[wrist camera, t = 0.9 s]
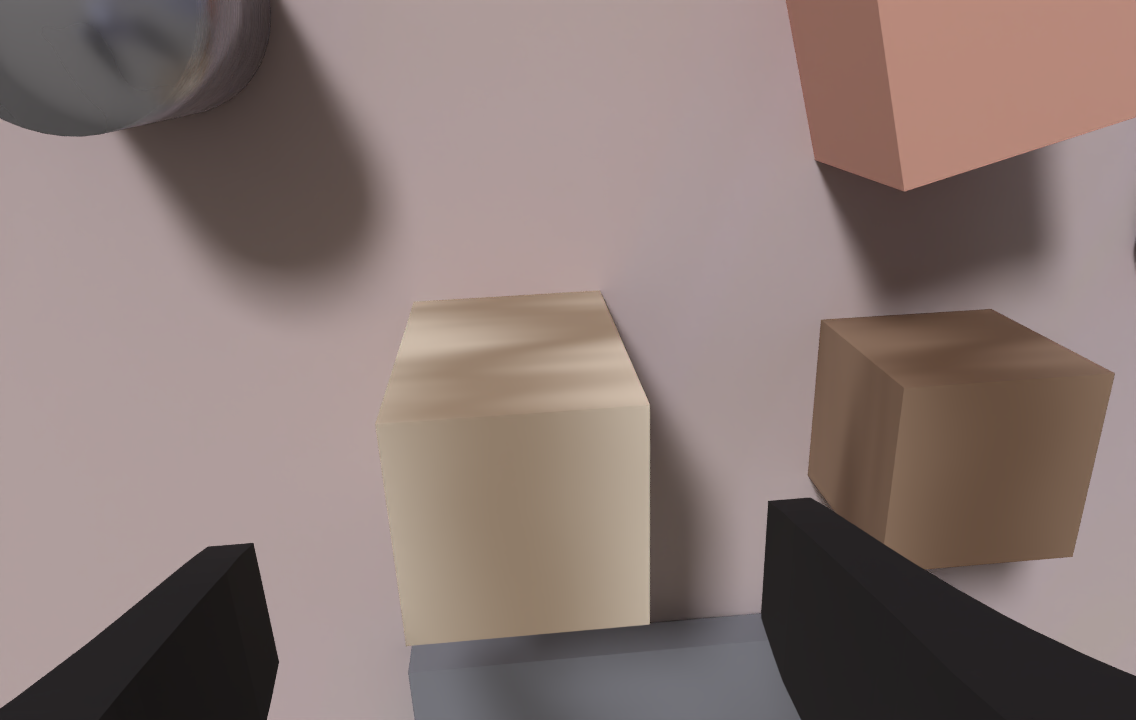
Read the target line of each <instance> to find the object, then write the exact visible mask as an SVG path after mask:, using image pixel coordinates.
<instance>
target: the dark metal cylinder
mask: <svg viewBox="0 0 1136 720" xmlns="http://www.w3.org/2000/svg"><path fill="white" fill-rule="evenodd" d="M270 24H271V10H270V0H0V118H1V119H3V120H5V121H7V122H10V123H12V124H15V125H17V126H20V127H22V128H26V129H29V130H33V131H37V132H40V133H45V134H52V135H59V136H90V135H99V134H104V133H108V132H113V131H117V130H122V129H127V128H131V127H136V126H140V125H145V124H149V123H154V122H159V121H163V120H168V119H172V118H177V117H181V116H186V115H191V114H195V113H199V112H203V111H207V110H210V109H212V108H214V107H217V106H219V105H221V104H223V103H225V102H226V101H228V100H230V99H231V98H233V97H234V96H235V95H236V94H237V93H239V92H240V91H241V90H242V89H243V88H244V87H245V86H246V85H247V83H248V82H249V81H250V80H251V79H252V77H253V76H254V74H255V72H256V71H257V69H258V68H259V66H260V63H261V61H262V59H263V57H264V54H265V51H266V47H267V44H268V40H269V33H270Z"/></svg>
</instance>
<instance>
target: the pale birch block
mask: <svg viewBox="0 0 1136 720" xmlns="http://www.w3.org/2000/svg"><path fill="white" fill-rule="evenodd" d="M375 426H376V433H377V440H378V448H379V455H380V462H381V469H382V476H383V483H384V491H385V498H386V505H387V512H388V519H389V527H390V534H391V541H392V548H393V555H394V562H395V570H396V577H397V584H398V591H399V598H400V605H401V613H402V620H403V627H404V634H405V641H406V646H414V645H425V644H436V643H448V642H459V641H470V640H481V639H493V638H504V637H515V636H526V635H538V634H549V633H560V632H571V631H583V630H594V629H605V628H616V627H627V626H639V625H650V404H649V402H648V399H647V397H646V395H645V393H644V390H643V388H642V386H641V383H640V381H639V379H638V377H637V374H636V372H635V370H634V367H633V365H632V363H631V361H630V358H629V356H628V354H627V351H626V349H625V347H624V345H623V342H622V340H621V338H620V335H619V333H618V331H617V329H616V326H615V324H614V322H613V319H612V317H611V315H610V313H609V310H608V308H607V306H606V303H605V301H604V299H603V297H602V294H601V292H600V291H585V292H568V293H552V294H535V295H519V296H502V297H486V298H469V299H453V300H436V301H420V302H414V303H413V306H412V309H411V313H410V316H409V319H408V322H407V325H406V328H405V332H404V335H403V338H402V341H401V344H400V348H399V351H398V354H397V357H396V360H395V363H394V367H393V370H392V373H391V376H390V379H389V382H388V386H387V389H386V392H385V395H384V398H383V402H382V405H381V408H380V411H379V414H378V417H377V421H376V424H375Z"/></svg>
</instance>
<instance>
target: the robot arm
mask: <svg viewBox="0 0 1136 720" xmlns="http://www.w3.org/2000/svg"><path fill="white" fill-rule="evenodd" d="M761 619H762V622H763V626H764V629H765V632H766V635H767V638H768V641H769V644H770V647H771V650H772V653H773V656H774V659H775V661H776V664H777V667H778V670H779V673H780V675H781V678H782V681H783V683H784V685H785V688H786V690H787V692H788V694H789V696H790V698H791V700H792V702H793V704H794V706H795V708H796V710H797V713H798V715H799V717H800V719H801V720H1136V676H1134V675H1132V674H1129V673H1127V672H1124V671H1122V670H1119V669H1117V668H1115V667H1112V666H1110V665H1108V664H1105V663H1103V662H1101V661H1099V660H1096V659H1094V658H1092V657H1089V656H1087V655H1085V654H1083V653H1081V652H1078V651H1076V650H1074V649H1072V648H1070V647H1068V646H1066V645H1064V644H1062V643H1059V642H1057V641H1055V640H1053V639H1051V638H1049V637H1047V636H1045V635H1043V634H1040V633H1038V632H1036V631H1034V630H1032V629H1030V628H1028V627H1026V626H1024V625H1022V624H1020V623H1018V622H1016V621H1014V620H1012V619H1010V618H1008V617H1007V616H1005V615H1003V614H1001V613H999V612H997V611H995V610H994V609H992V608H990V607H988V606H987V605H985V604H983V603H981V602H979V601H978V600H976V599H974V598H972V597H970V596H969V595H967V594H965V593H963V592H961V591H960V590H958V589H956V588H954V587H953V586H951V585H949V584H948V583H946V582H944V581H943V580H941V579H939V578H938V577H936V576H934V575H933V574H931V573H929V572H928V571H926V570H924V569H923V568H921V567H919V566H918V565H916V564H915V563H913V562H911V561H910V560H908V559H907V558H905V557H903V556H902V555H900V554H899V553H897V552H896V551H894V550H892V549H891V548H889V547H888V546H886V545H885V544H883V543H882V542H880V541H878V540H877V539H875V538H874V537H872V536H871V535H869V534H868V533H866V532H865V531H863V530H862V529H860V528H858V527H857V526H855V525H854V524H852V523H851V522H849V521H848V520H846V519H845V518H843V517H841V516H840V515H838V514H837V513H835V512H834V511H832V510H830V509H829V508H827V507H826V506H824V505H822V504H821V503H819V502H817V501H815V500H813V499H812V498H800V499H787V500H775V501H768V515H767V531H766V546H765V562H764V578H763V594H762V609H761ZM278 664H279V660H278V655H277V651H276V646H275V641H274V637H273V632H272V627H271V623H270V618H269V613H268V609H267V604H266V599H265V595H264V590H263V585H262V581H261V576H260V571H259V567H258V562H257V557H256V553H255V548H254V543H247V544H235V545H223V546H211V547H207V548H205V549H204V550H203V551H201V552H200V553H198V554H197V555H196V556H194V557H193V558H192V559H191V560H189V561H188V562H187V563H185V564H184V565H183V566H182V567H180V568H179V569H178V570H177V571H176V572H174V573H173V574H172V575H171V576H169V577H168V578H167V579H166V580H165V581H163V582H162V583H161V584H160V585H159V586H157V587H156V588H155V589H154V590H152V591H151V592H150V593H149V594H148V595H146V596H145V597H144V598H143V599H142V600H140V601H139V602H138V603H137V604H136V605H134V606H133V607H132V608H131V609H129V610H128V611H127V612H126V613H124V614H123V615H122V616H121V617H120V618H118V619H117V620H116V621H115V622H113V623H112V624H111V625H110V626H108V627H107V628H106V629H105V630H104V631H102V632H101V633H100V634H99V635H97V636H96V637H95V638H94V639H92V640H91V641H90V642H89V643H87V644H86V645H85V646H83V647H82V648H81V649H80V650H78V651H77V652H76V653H74V654H73V655H72V656H70V657H69V658H68V659H66V660H65V661H64V662H62V663H61V664H60V665H58V666H57V667H56V668H54V669H53V670H52V671H50V672H49V673H48V674H46V675H45V676H44V677H42V678H41V679H40V680H38V681H37V682H36V683H34V684H33V685H32V686H30V687H29V688H28V689H26V690H25V691H24V692H22V693H21V694H20V695H19V696H17V697H16V698H14V699H13V700H12V701H10V702H9V703H7V704H6V705H5V706H3V707H2V708H0V720H267V716H268V712H269V708H270V703H271V699H272V694H273V689H274V684H275V679H276V674H277V669H278Z"/></svg>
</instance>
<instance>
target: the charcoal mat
mask: <svg viewBox="0 0 1136 720" xmlns="http://www.w3.org/2000/svg"><path fill="white" fill-rule="evenodd" d="M408 675H409V682H410V689H411V696H412V703H413V710H414V717H415V720H801V719H800V717H799V715H798V713H797V710H796V708H795V706H794V704H793V702H792V700H791V698H790V696H789V694H788V692H787V690H786V688H785V685H784V683H783V681H782V678H781V675H780V673H779V670H778V667H777V664H776V661H775V659H774V656H773V653H772V650H771V647H770V644H769V641H768V638H767V635H766V632H765V629H764V626H763V622H762V619H761V613H759V614H748V615H737V616H725V617H714V618H703V619H692V620H680V621H669V622H658V623H650V625H639V626H627V627H616V628H605V629H594V630H583V631H571V632H560V633H549V634H538V635H526V636H515V637H504V638H493V639H481V640H470V641H459V642H448V643H436V644H425V645H414V646H412V649H411V657H410V664H409V671H408Z"/></svg>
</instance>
